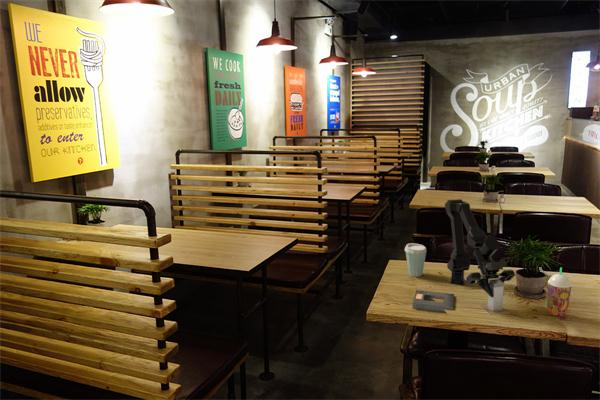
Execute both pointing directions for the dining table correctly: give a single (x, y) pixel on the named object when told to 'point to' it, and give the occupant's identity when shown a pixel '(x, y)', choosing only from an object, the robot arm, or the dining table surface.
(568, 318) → the dining table surface
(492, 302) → the grey square peg
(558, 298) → the smoothie
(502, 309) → the pad
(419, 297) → the flange plate
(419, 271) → the disposable coffee cup
